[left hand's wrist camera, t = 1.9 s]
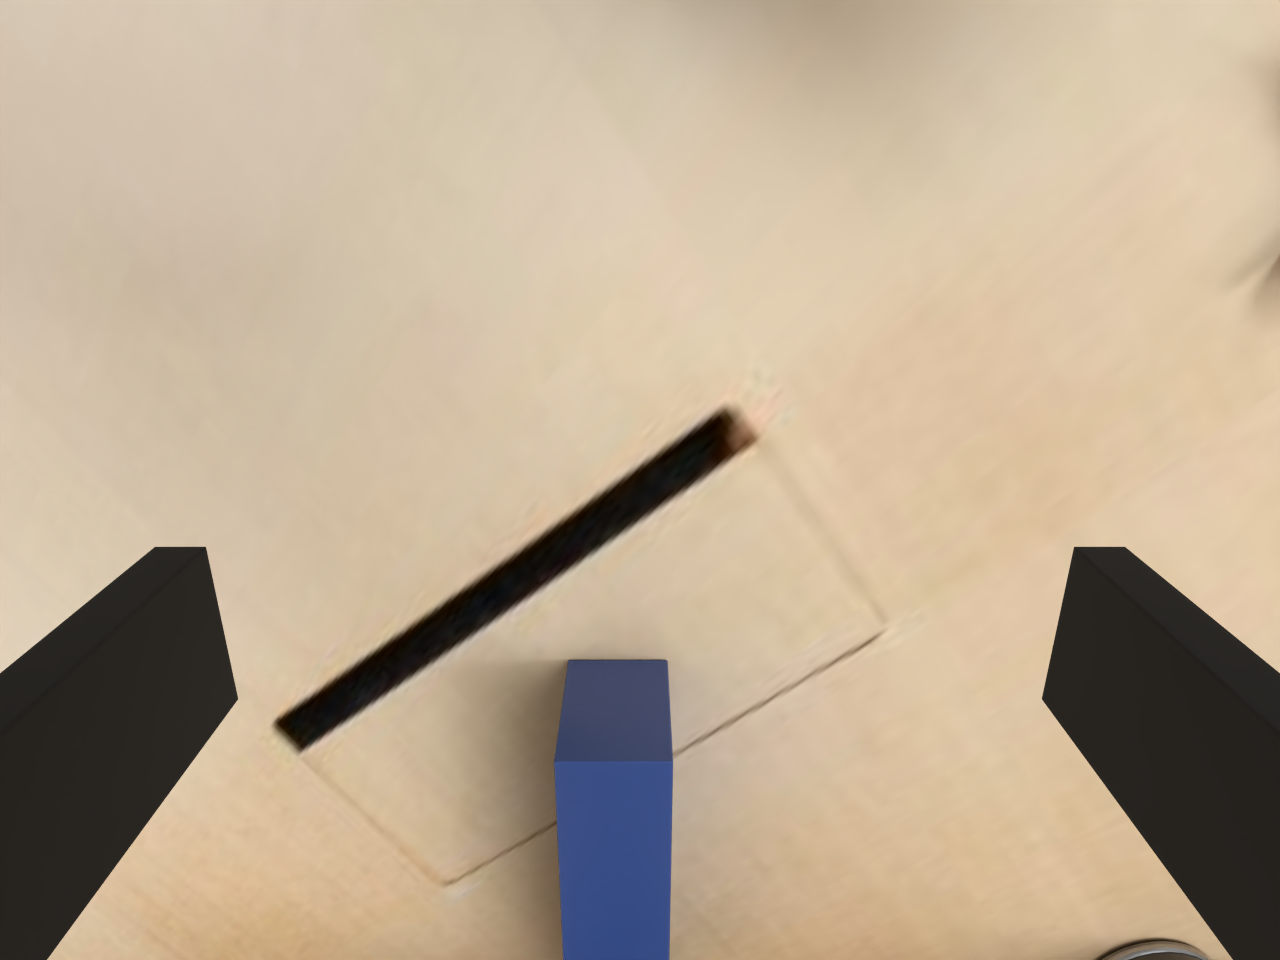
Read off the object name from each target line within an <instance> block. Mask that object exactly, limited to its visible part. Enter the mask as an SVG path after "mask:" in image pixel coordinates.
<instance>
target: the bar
mask: <svg viewBox="0 0 1280 960" xmlns="http://www.w3.org/2000/svg"><path fill="white" fill-rule="evenodd" d="M554 772H555V793H556V815H557V837H558V859H559V880H560V902H561V924H562V945H563V960H669V947H670V894H671V840H672V787H673V753H672V735H671V716H670V698H669V680H668V662H667V660H569V661H568V666H567V673H566V680H565V688H564V695H563V702H562V709H561V716H560V723H559V730H558V737H557V745H556V752H555V759H554Z"/></svg>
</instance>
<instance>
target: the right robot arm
mask: <svg viewBox="0 0 1280 960" xmlns="http://www.w3.org/2000/svg"><path fill="white" fill-rule="evenodd" d="M1102 960H1211V959H1210V958H1209V957H1208V956H1207V955H1206V954H1205V953H1203V952H1202V951H1200V950H1198V949H1196V948H1194V947H1192V946H1189V945H1186V944H1182V943H1177V942H1170V941H1155V942H1146V943H1140V944H1136V945H1132V946H1129V947H1126V948H1123V949H1121V950H1118V951H1116V952H1114V953H1112V954H1110V955H1108V956H1106V957H1105V958H1103V959H1102Z"/></svg>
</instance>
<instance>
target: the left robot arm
mask: <svg viewBox="0 0 1280 960" xmlns="http://www.w3.org/2000/svg"><path fill="white" fill-rule="evenodd" d="M237 700H238V696H237V692H236V687H235V682H234V678H233V673H232V668H231V663H230V659H229V654H228V649H227V645H226V640H225V635H224V630H223V626H222V621H221V616H220V612H219V607H218V602H217V597H216V593H215V588H214V583H213V579H212V574H211V569H210V564H209V560H208V555H207V550H206V547H154V548H153V549H152V550H151V551H150V552H148V553H147V554H146V555H145V556H143V557H142V558H141V559H140V560H139V561H137V562H136V563H135V564H134V565H132V566H131V567H130V568H129V569H128V570H126V571H125V572H124V573H123V574H121V575H120V576H119V577H118V578H116V579H115V580H114V581H113V582H112V583H110V584H109V585H108V586H107V587H105V588H104V589H103V590H102V591H101V592H99V593H98V594H97V595H96V596H94V597H93V598H92V599H91V600H90V601H88V602H87V603H86V604H85V605H83V606H82V607H81V608H80V609H79V610H77V611H76V612H75V613H74V614H72V615H71V616H70V617H69V618H67V619H66V620H65V621H64V622H63V623H61V624H60V625H59V626H58V627H56V628H55V629H54V630H53V631H52V632H50V633H49V634H48V635H47V636H45V637H44V638H43V639H42V640H41V641H39V642H38V643H37V644H36V645H34V646H33V647H32V648H31V649H30V650H28V651H27V652H26V653H25V654H23V655H22V656H21V657H20V658H18V659H17V660H16V661H15V662H14V663H12V664H11V665H10V666H9V667H7V668H6V669H5V670H4V671H3V672H1V673H0V960H47V959H48V957H49V956H50V955H51V953H52V952H53V951H54V949H55V948H56V947H57V945H58V944H59V942H60V941H61V940H62V938H63V937H64V936H65V934H66V933H67V932H68V930H69V929H70V927H71V926H72V925H73V923H74V922H75V921H76V919H77V918H78V917H79V915H80V914H81V912H82V911H83V910H84V908H85V907H86V906H87V904H88V903H89V902H90V900H91V899H92V898H93V896H94V895H95V893H96V892H97V891H98V889H99V888H100V887H101V885H102V884H103V883H104V881H105V880H106V878H107V877H108V876H109V874H110V873H111V872H112V870H113V869H114V868H115V866H116V865H117V863H118V862H119V861H120V859H121V858H122V857H123V855H124V854H125V853H126V851H127V850H128V848H129V847H130V846H131V844H132V843H133V842H134V840H135V839H136V838H137V836H138V835H139V833H140V832H141V831H142V829H143V828H144V827H145V825H146V824H147V823H148V821H149V820H150V818H151V817H152V816H153V814H154V813H155V812H156V810H157V809H158V808H159V806H160V805H161V803H162V802H163V801H164V799H165V798H166V797H167V795H168V794H169V793H170V791H171V790H172V788H173V787H174V786H175V784H176V783H177V782H178V780H179V779H180V778H181V776H182V775H183V773H184V772H185V771H186V769H187V768H188V767H189V765H190V764H191V763H192V761H193V760H194V758H195V757H196V756H197V754H198V753H199V752H200V750H201V749H202V748H203V746H204V745H205V743H206V742H207V741H208V739H209V738H210V737H211V735H212V734H213V733H214V731H215V730H216V728H217V727H218V726H219V724H220V723H221V722H222V720H223V719H224V718H225V716H226V715H227V713H228V712H229V711H230V709H231V708H232V707H233V705H234V704H235V703H236V701H237ZM1042 700H1043V701H1044V703H1045V704H1046V705H1047V707H1048V708H1049V709H1050V711H1051V712H1052V713H1053V715H1054V716H1055V718H1056V719H1057V720H1058V722H1059V723H1060V724H1061V726H1062V727H1063V728H1064V730H1065V731H1066V733H1067V734H1068V735H1069V737H1070V738H1071V739H1072V741H1073V742H1074V743H1075V745H1076V746H1077V748H1078V749H1079V750H1080V752H1081V753H1082V754H1083V756H1084V757H1085V758H1086V760H1087V761H1088V763H1089V764H1090V765H1091V767H1092V768H1093V769H1094V771H1095V772H1096V773H1097V775H1098V776H1099V778H1100V779H1101V780H1102V782H1103V783H1104V784H1105V786H1106V787H1107V788H1108V790H1109V791H1110V793H1111V794H1112V795H1113V797H1114V798H1115V799H1116V801H1117V802H1118V803H1119V805H1120V806H1121V808H1122V809H1123V810H1124V812H1125V813H1126V814H1127V816H1128V817H1129V818H1130V820H1131V821H1132V823H1133V824H1134V825H1135V827H1136V828H1137V829H1138V831H1139V832H1140V833H1141V835H1142V836H1143V838H1144V839H1145V840H1146V842H1147V843H1148V844H1149V846H1150V847H1151V848H1152V850H1153V851H1154V853H1155V854H1156V855H1157V857H1158V858H1159V859H1160V861H1161V862H1162V863H1163V865H1164V866H1165V868H1166V869H1167V870H1168V872H1169V873H1170V874H1171V876H1172V877H1173V878H1174V880H1175V881H1176V883H1177V884H1178V885H1179V887H1180V888H1181V889H1182V891H1183V892H1184V893H1185V895H1186V896H1187V898H1188V899H1189V900H1190V902H1191V903H1192V904H1193V906H1194V907H1195V908H1196V910H1197V911H1198V913H1199V914H1200V915H1201V917H1202V918H1203V919H1204V921H1205V922H1206V923H1207V925H1208V926H1209V927H1210V929H1211V930H1212V932H1213V933H1214V934H1215V936H1216V937H1217V938H1218V940H1219V941H1220V942H1221V944H1222V945H1223V947H1224V948H1225V949H1226V951H1227V952H1228V953H1229V955H1230V956H1231V957H1232V959H1233V960H1280V673H1279V672H1277V671H1276V670H1275V669H1274V668H1273V667H1271V666H1270V665H1269V664H1268V663H1266V662H1265V661H1264V660H1263V659H1262V658H1260V657H1259V656H1258V655H1257V654H1255V653H1254V652H1253V651H1252V650H1250V649H1249V648H1248V647H1247V646H1246V645H1244V644H1243V643H1242V642H1241V641H1239V640H1238V639H1237V638H1236V637H1235V636H1233V635H1232V634H1231V633H1230V632H1228V631H1227V630H1226V629H1225V628H1224V627H1222V626H1221V625H1220V624H1219V623H1217V622H1216V621H1215V620H1214V619H1213V618H1211V617H1210V616H1209V615H1208V614H1206V613H1205V612H1204V611H1203V610H1201V609H1200V608H1199V607H1198V606H1197V605H1195V604H1194V603H1193V602H1192V601H1190V600H1189V599H1188V598H1187V597H1186V596H1184V595H1183V594H1182V593H1181V592H1179V591H1178V590H1177V589H1176V588H1175V587H1173V586H1172V585H1171V584H1170V583H1168V582H1167V581H1166V580H1165V579H1164V578H1162V577H1161V576H1160V575H1159V574H1157V573H1156V572H1155V571H1154V570H1152V569H1151V568H1150V567H1149V566H1148V565H1146V564H1145V563H1144V562H1143V561H1141V560H1140V559H1139V558H1138V557H1137V556H1135V555H1134V554H1133V553H1132V552H1130V551H1129V550H1128V549H1127V548H1126V547H1074V550H1073V555H1072V560H1071V564H1070V569H1069V574H1068V579H1067V583H1066V588H1065V593H1064V597H1063V602H1062V607H1061V612H1060V616H1059V621H1058V626H1057V630H1056V635H1055V640H1054V645H1053V649H1052V654H1051V659H1050V663H1049V668H1048V673H1047V678H1046V682H1045V687H1044V692H1043V696H1042Z"/></svg>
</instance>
